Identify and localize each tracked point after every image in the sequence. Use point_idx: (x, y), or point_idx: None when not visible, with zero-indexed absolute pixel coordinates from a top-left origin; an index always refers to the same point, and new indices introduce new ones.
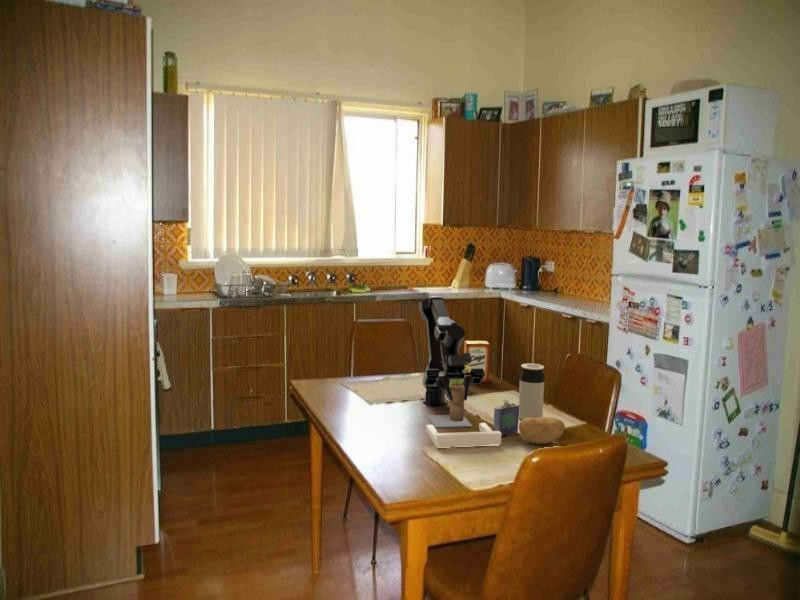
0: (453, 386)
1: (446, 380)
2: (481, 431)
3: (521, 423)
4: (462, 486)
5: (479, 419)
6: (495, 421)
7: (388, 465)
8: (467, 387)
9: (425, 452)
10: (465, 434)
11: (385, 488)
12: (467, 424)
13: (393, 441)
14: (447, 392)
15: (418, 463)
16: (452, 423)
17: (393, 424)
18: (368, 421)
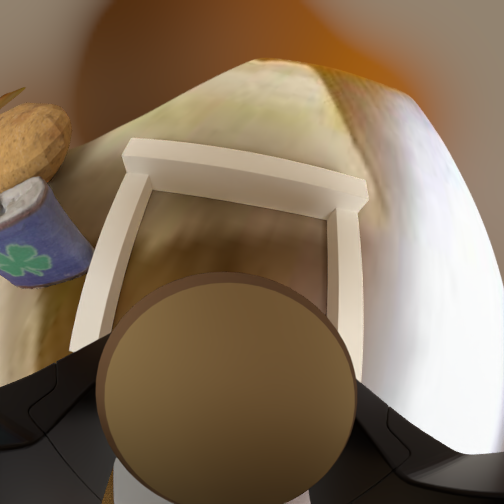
0: (340, 361)
1: (461, 477)
2: (112, 319)
3: (56, 123)
4: (322, 75)
5: None
6: (71, 223)
7: (435, 170)
8: (53, 377)
9: (377, 196)
10: (267, 155)
11: (420, 117)
12: None
13: (444, 298)
14: (361, 391)
15: (390, 154)
16: None
17: None
18: None
